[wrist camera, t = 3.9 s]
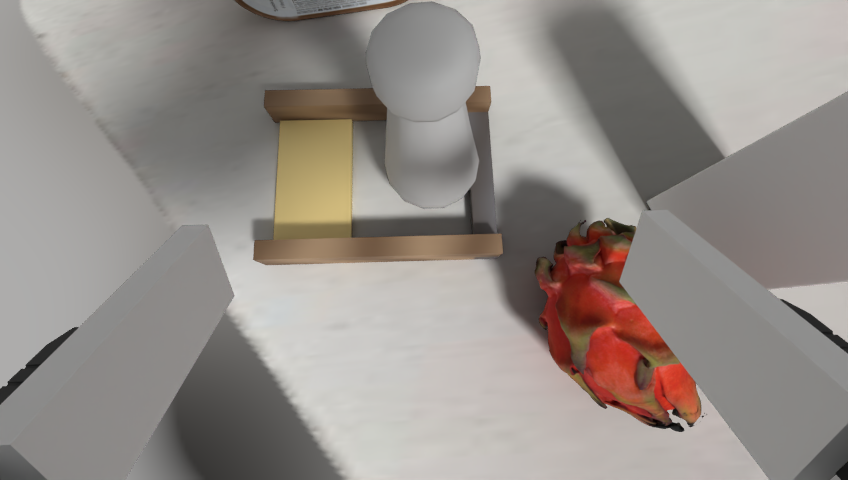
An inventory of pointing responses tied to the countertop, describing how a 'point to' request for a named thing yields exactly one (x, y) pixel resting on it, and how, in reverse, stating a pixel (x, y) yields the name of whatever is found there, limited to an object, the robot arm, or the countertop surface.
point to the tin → (311, 7)
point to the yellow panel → (314, 180)
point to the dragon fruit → (610, 330)
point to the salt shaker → (426, 101)
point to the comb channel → (400, 247)
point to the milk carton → (777, 202)
